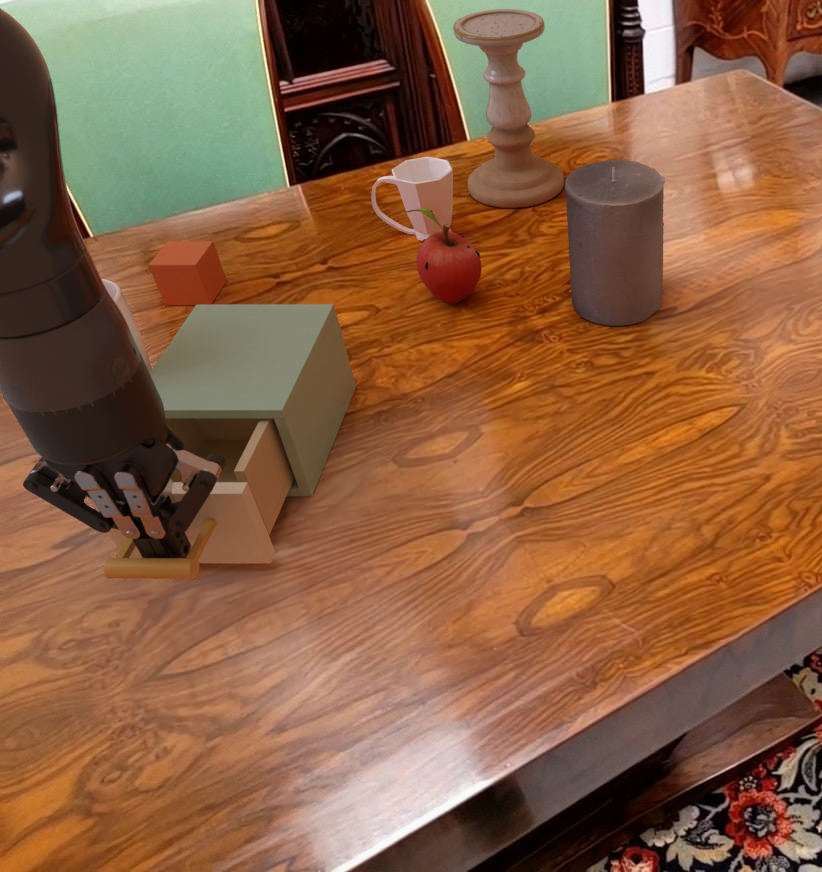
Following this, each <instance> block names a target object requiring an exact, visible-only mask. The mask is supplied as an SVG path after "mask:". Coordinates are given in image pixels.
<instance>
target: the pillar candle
mask: <svg viewBox="0 0 822 872" xmlns="http://www.w3.org/2000/svg"><path fill="white" fill-rule="evenodd" d="M665 182H666V179H665V177H664V176H663V175H661V174H660V173H659V171H657V170H656V169H655V168H653V167H651V166H649V165H647V164H644V163H641V162H639V161H632V160H625V159H624V160H623V159H622V160H621V159H612V160H599V161H595V162H591V163H587V164H584V165H582V166H580V167H578V168H576V169H574V170H573V171H571V172H570V173H569V175H567V177H566V179H565V180H564V190H565V206H566V222H567V225H566V226H567V236H568V238H567V239H568V240H567V241H568V259H569V276H570V289H571V291H570V292H571V303H572V307H573V309H574V311H575V312H576V314H578V315H579V316H580V317H581V318H583V319H584V320H586V321H589V322H591V323H593V324H597V325H601V326H611V327H621V326H631V325H635V324H638V323H642V322H645V321H646V320H648V319H649V318H650V317H651V316H653V314H655V313H656V312H657V311H658V310H659V309H660V308H661V306H662V305H663V300H664V299H663V295H664V225H665V223H664V197H665V196H664V195H665V193H664V192H665V191H664V189H665V186H664V185H665Z"/></svg>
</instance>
